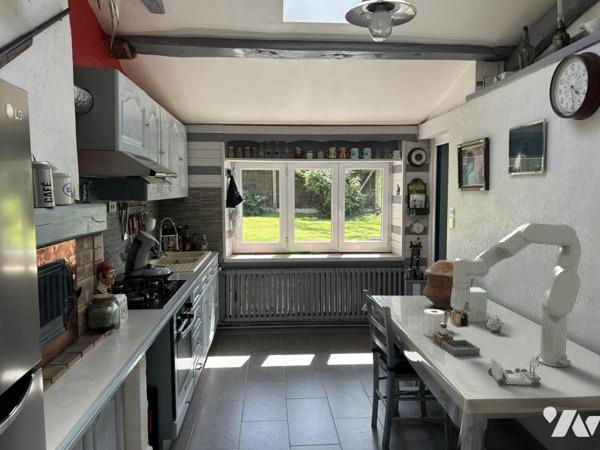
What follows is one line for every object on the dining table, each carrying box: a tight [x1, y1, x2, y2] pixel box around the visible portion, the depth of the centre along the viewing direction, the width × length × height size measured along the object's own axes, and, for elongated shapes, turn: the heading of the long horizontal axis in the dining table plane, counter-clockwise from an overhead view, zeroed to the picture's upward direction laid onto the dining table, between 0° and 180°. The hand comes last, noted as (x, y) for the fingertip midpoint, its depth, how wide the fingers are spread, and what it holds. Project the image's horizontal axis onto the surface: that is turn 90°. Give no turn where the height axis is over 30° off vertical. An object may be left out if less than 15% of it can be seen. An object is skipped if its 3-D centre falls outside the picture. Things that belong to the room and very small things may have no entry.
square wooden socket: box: [432, 332, 454, 347], centre depth 213 cm, size 7×7×4 cm
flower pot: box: [443, 310, 451, 324], centre depth 237 cm, size 9×9×9 cm
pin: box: [440, 322, 448, 336], centre depth 213 cm, size 3×3×10 cm
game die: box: [484, 315, 504, 333], centre depth 233 cm, size 9×8×10 cm
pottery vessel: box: [422, 259, 454, 309], centre depth 284 cm, size 26×26×30 cm
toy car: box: [487, 355, 542, 388], centre depth 171 cm, size 18×10×12 cm
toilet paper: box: [423, 308, 444, 338], centre depth 227 cm, size 10×10×12 cm
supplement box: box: [463, 286, 488, 323], centre depth 256 cm, size 13×13×18 cm
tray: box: [440, 339, 481, 357], centre depth 203 cm, size 12×12×3 cm
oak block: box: [450, 310, 471, 328], centre depth 203 cm, size 6×6×6 cm
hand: (460, 323), depth 203 cm, fingers closed on oak block, 6 cm apart
